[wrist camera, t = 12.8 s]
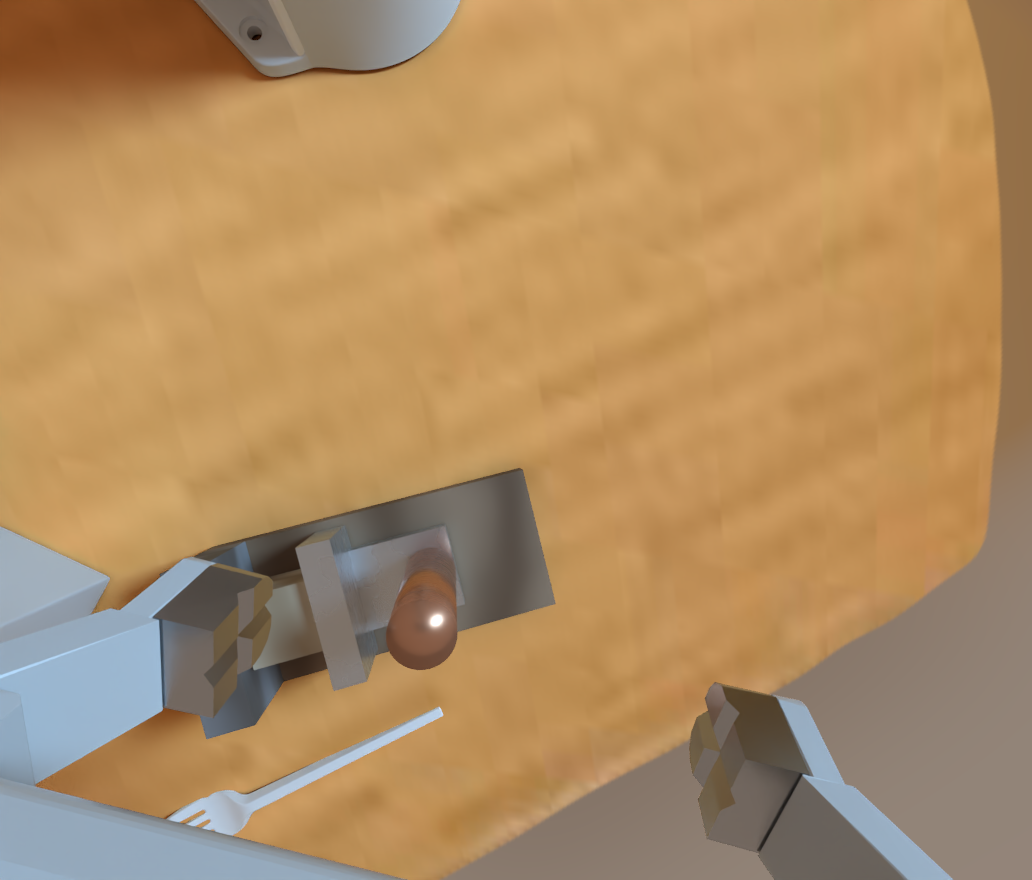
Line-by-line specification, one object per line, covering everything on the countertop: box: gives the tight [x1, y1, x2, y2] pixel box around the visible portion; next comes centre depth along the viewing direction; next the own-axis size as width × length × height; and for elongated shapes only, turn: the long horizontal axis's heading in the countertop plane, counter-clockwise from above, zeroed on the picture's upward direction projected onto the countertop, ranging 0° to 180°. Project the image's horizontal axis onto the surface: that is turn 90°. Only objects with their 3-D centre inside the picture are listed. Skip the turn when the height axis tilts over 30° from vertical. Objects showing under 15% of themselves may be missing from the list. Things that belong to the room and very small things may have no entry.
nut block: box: [253, 569, 323, 670], centre depth 32 cm, size 4×4×4 cm
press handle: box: [295, 523, 465, 691], centre depth 29 cm, size 8×8×11 cm
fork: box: [167, 707, 443, 836], centre depth 36 cm, size 3×20×2 cm, turn 113°
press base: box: [160, 468, 555, 739], centre depth 33 cm, size 20×9×6 cm, turn 104°
